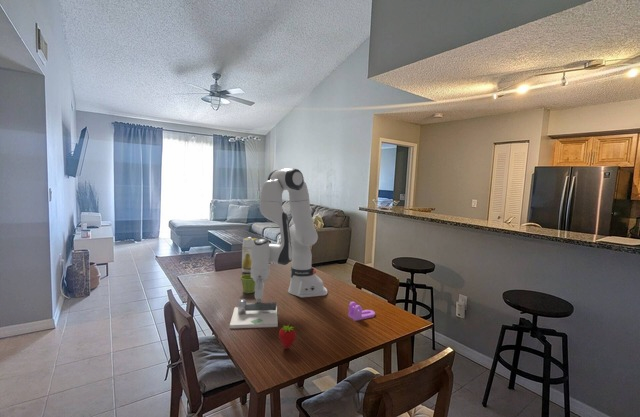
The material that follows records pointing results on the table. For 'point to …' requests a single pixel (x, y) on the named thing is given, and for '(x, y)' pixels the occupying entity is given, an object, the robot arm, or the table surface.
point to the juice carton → (247, 254)
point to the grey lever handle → (254, 306)
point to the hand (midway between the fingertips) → (259, 300)
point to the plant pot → (248, 283)
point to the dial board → (254, 319)
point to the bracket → (359, 312)
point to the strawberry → (287, 336)
